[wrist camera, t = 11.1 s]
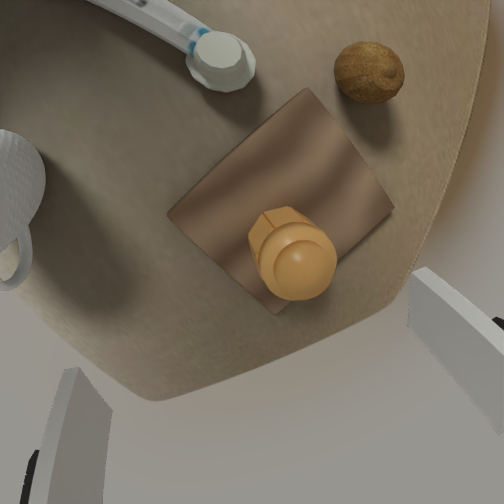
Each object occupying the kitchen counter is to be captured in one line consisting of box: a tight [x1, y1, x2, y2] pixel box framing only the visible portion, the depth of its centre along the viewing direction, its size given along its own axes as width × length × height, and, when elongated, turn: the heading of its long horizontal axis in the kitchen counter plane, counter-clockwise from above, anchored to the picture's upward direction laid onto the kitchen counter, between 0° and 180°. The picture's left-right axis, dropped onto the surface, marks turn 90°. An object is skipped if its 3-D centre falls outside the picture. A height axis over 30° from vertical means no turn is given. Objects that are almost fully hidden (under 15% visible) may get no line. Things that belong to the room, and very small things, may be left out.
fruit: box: [334, 41, 405, 104], centre depth 24 cm, size 6×6×8 cm
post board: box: [167, 88, 395, 315], centre depth 30 cm, size 16×18×6 cm
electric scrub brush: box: [87, 0, 256, 93], centre depth 20 cm, size 5×7×25 cm
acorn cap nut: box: [248, 206, 337, 300], centre depth 28 cm, size 6×6×8 cm
